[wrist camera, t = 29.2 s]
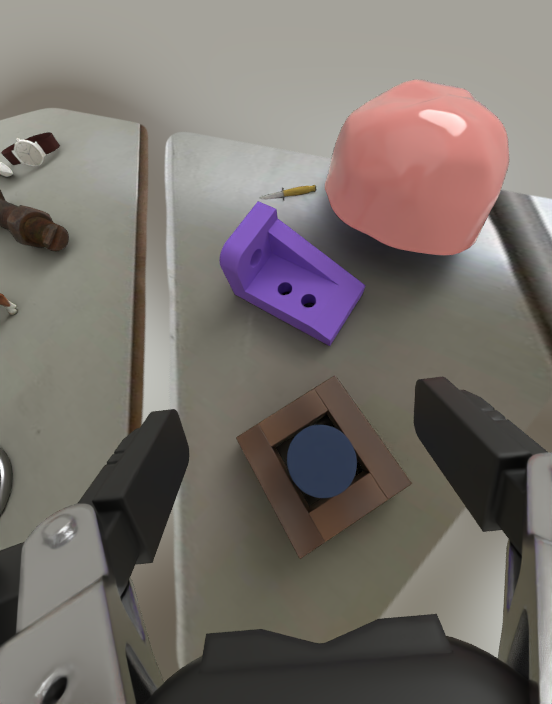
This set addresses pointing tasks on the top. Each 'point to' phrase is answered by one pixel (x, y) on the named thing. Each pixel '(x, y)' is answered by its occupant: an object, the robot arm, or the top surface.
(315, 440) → the pad post
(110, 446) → the top surface
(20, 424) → the top surface
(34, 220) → the bolt
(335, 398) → the base frame
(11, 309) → the bull figurine
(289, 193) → the dagger
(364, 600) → the top surface
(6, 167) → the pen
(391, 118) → the cell model
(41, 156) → the watch
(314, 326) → the bracket
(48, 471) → the top surface
